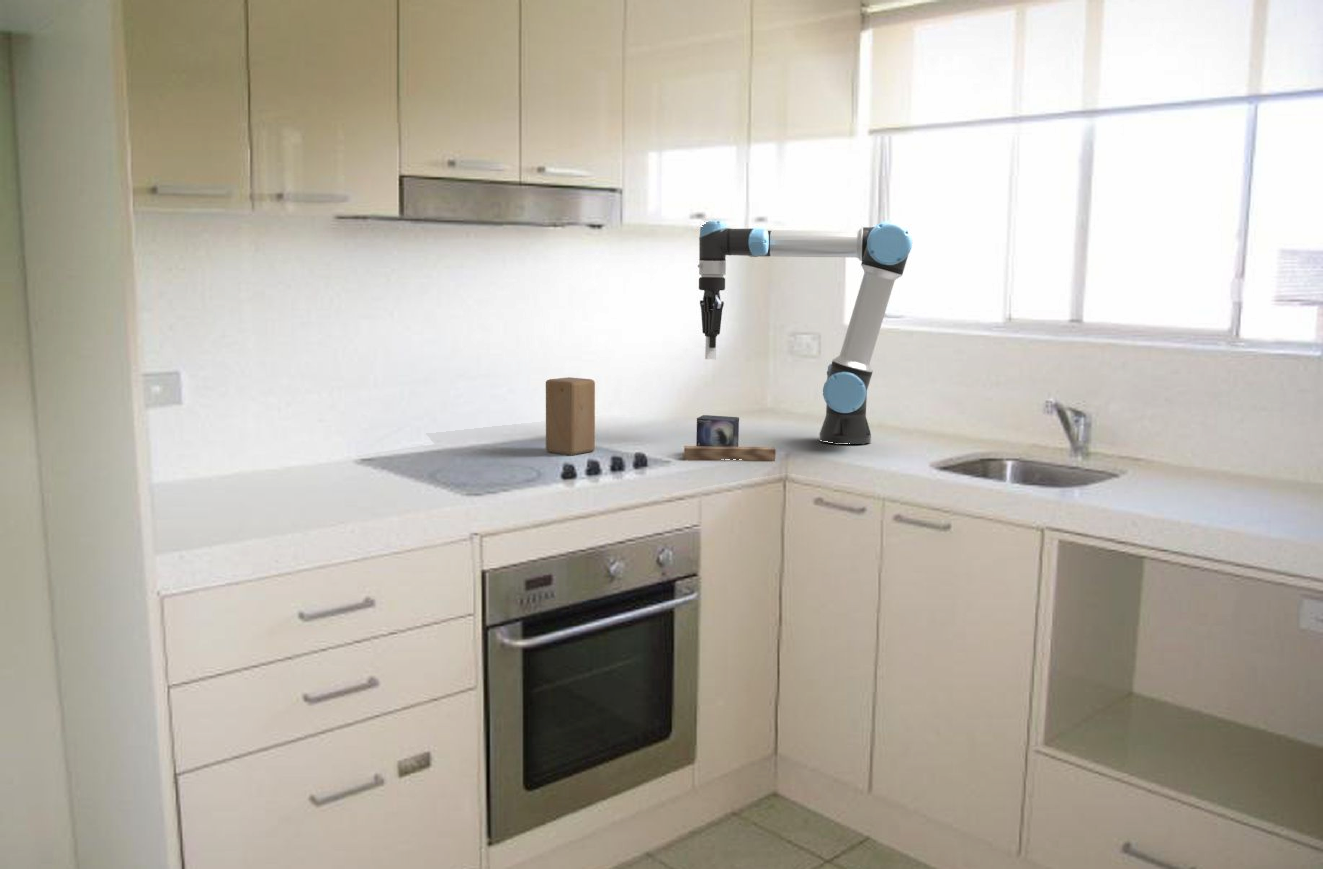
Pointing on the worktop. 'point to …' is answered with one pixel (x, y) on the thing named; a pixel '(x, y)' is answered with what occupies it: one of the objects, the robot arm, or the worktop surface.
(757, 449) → the long brown wooden bar
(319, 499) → the worktop surface
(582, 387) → the wooden block
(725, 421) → the small box
